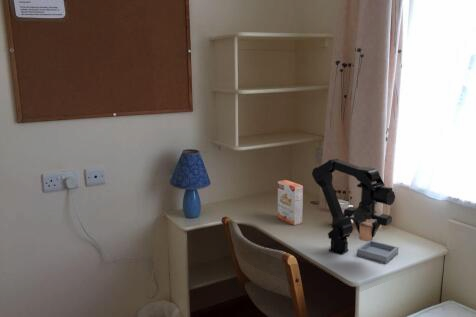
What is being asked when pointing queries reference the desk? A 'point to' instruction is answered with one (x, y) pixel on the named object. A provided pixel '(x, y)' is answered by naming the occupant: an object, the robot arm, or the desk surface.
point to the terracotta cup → (365, 231)
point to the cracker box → (290, 202)
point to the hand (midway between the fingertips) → (366, 235)
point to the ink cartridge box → (345, 206)
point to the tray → (377, 251)
